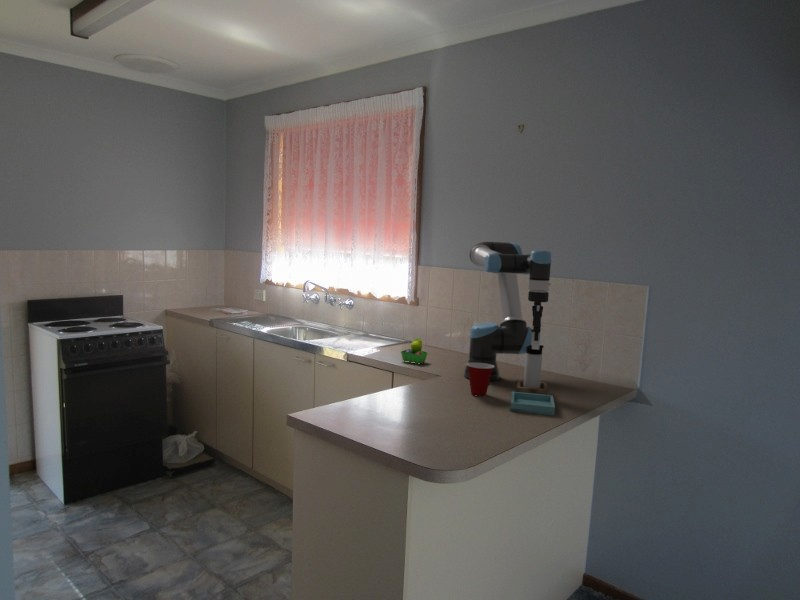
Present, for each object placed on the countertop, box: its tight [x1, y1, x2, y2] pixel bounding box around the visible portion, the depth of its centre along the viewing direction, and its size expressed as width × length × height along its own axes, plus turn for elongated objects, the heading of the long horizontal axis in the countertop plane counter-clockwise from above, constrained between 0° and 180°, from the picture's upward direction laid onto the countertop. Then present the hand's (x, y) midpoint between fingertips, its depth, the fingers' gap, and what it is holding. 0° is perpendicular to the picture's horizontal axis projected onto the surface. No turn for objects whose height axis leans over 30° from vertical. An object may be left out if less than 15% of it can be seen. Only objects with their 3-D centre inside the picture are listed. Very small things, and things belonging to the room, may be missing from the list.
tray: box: [509, 391, 556, 416], centre depth 205 cm, size 15×15×3 cm
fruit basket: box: [400, 337, 429, 364], centre depth 268 cm, size 11×9×11 cm
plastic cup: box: [465, 362, 494, 397], centre depth 218 cm, size 11×11×12 cm
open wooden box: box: [516, 379, 549, 395], centre depth 220 cm, size 12×12×4 cm
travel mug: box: [523, 344, 545, 389], centre depth 219 cm, size 6×7×20 cm
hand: (535, 346), depth 218 cm, fingers open, 13 cm apart
